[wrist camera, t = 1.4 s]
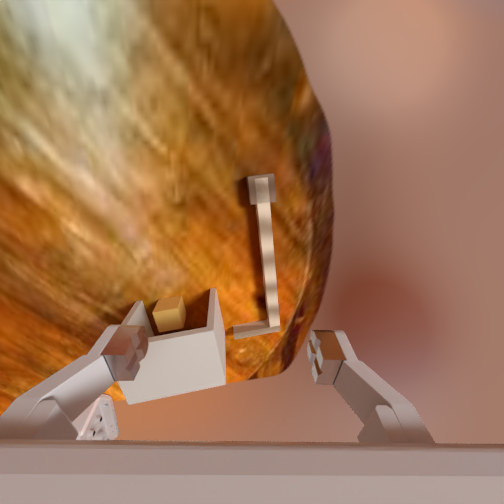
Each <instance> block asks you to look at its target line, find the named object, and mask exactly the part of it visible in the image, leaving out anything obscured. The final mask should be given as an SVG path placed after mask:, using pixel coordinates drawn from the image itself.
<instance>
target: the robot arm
mask: <svg viewBox="0 0 504 504" xmlns="http://www.w3.org/2000/svg"><path fill="white" fill-rule="evenodd" d="M145 332H146V330H145V327H144V326H135V325H112V324H111V325H109V326H108V327H107V328H106V329H105V331H104V332H103V333H102V335H101V336H100V337H99V339H98V340H97V342H96V343H95V344H94V346H93V347H92V348H91V350H90V351H89V353H88V354H87V355H83V356H81V357H79V358H78V359H76V360H75V361H73V362H72V363H70V364H69V365H67V366H66V367H64V368H62V369H61V370H59V371H58V372H56V373H55V374H53V375H52V376H50V377H49V378H47V379H45V380H44V381H42V382H41V383H39V384H38V385H36V386H35V387H33V388H31V389H30V390H28V391H27V392H25V393H24V394H22V395H21V396H19V397H18V398H16V399H15V400H14V401H13V403H12V404H11V405H10V406H9V407H8V408H7V409H6V411H5V412H4V413H3V414H2V415H1V416H0V504H504V444H457V443H454V444H453V443H435V441H434V440H433V438H432V436H431V435H430V433H429V431H428V430H427V428H426V427H425V425H424V423H423V421H422V420H421V418H420V416H419V414H418V413H417V411H416V409H415V408H414V406H413V405H412V404H411V403H410V402H409V401H407V400H406V399H405V398H404V397H403V396H402V395H401V394H399V393H398V392H397V391H396V390H395V389H393V388H392V387H391V386H390V385H389V384H388V383H386V382H385V381H384V380H383V379H382V378H381V377H379V376H378V375H377V374H376V373H375V372H374V371H372V370H371V369H370V368H369V367H368V366H366V365H365V364H364V363H363V362H362V361H358V359H357V358H356V355H355V353H354V351H353V349H352V347H351V345H350V343H349V341H348V339H347V336H346V334H345V333H344V332H343V331H332V330H312V331H311V334H310V337H311V340H310V341H309V342H308V346H307V353H308V358H309V362H310V363H311V364H312V365H313V367H312V373H313V377H314V381H315V384H322V385H333V386H334V388H335V389H336V390H337V391H338V393H339V394H340V395H341V396H342V398H343V399H344V400H345V401H346V402H347V404H348V405H349V406H350V407H351V408H352V410H353V411H354V412H355V414H357V416H358V417H359V418H360V420H361V421H362V422H363V423H364V427H363V428H362V430H361V432H360V433H359V435H358V440H359V443H356V442H354V443H353V442H351V443H350V442H253V441H146V440H141V441H140V440H113V439H115V438H116V437H117V436H118V434H119V430H118V425H117V420H116V415H115V410H114V405H113V400H112V397H111V396H109V395H106V394H103V393H104V392H105V391H106V390H107V389H108V388H109V387H110V386H111V385H112V384H113V383H114V381H134V379H135V377H136V375H137V373H138V371H139V369H140V363H139V362H140V361H141V360H142V359H144V358H145V356H146V353H147V350H148V346H149V341H148V337H146V336H145V335H144V334H145Z"/></svg>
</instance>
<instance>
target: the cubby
mask: <svg viewBox="0 0 504 504" xmlns="http://www.w3.org/2000/svg"><path fill="white" fill-rule="evenodd" d="M121 325H135V326H144V327H145V330H146V332H145V334H144V335H145V336H146V337H148V341H149V346H148V350H147V353H146V356H145V358H144V359H142V360H141V361H140V362H139V363H140V369H139V371H138V373H137V375H136V377H135V379H134V381H118V383H119V386H120V388H121V390H122V392H123V394H124V396H125V398H126V400H127V402H128V404H129V405H130V404H135V403H140V402H144V401H149V400H154V399H159V398H163V397H168V396H173V395H178V394H183V393H187V392H193V391H197V390H202V389H207V388H212V387H217V386H221V385H226V361H225V330H224V325H223V320H222V315H221V311H220V306H219V301H218V296H217V291H216V288H210V298H209V308H208V318H207V327H203V328H198V329H192V330H187V331H181V332H176V333H171V334H165V335H160V336H154V333H153V330H152V327H151V325H150V322H149V319H148V316H147V313H146V311H145V308H144V305H143V302H142V300H141V301H136V302H135V304H134V305H133V307H132V308H131V310H130V311H129V313H128V314H127V316H126V317H125V319H124V320H123V322H122V323H121Z"/></svg>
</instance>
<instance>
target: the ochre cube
mask: <svg viewBox="0 0 504 504" xmlns="http://www.w3.org/2000/svg"><path fill="white" fill-rule="evenodd" d="M152 313H153V316H154V319H155V322H156V325H157V328H158V331H159V332H165V331H170V330H175V329H181V328H183V327H184V323H185V319H186V315H187V313H186V309H185V306H184V302H183V298H182V295H181V296H175V297H169V298H163V299H159V300H158V302H157V304H156V306H155V308H154V310H153V312H152Z"/></svg>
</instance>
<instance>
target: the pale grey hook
mask: <svg viewBox="0 0 504 504" xmlns="http://www.w3.org/2000/svg"><path fill="white" fill-rule="evenodd" d="M246 180H247V189H248V198H249V203H250V204H251V205H254V204H255V207H256V216H257V225H258V235H259V244H260V253H261V263H262V272H263V281H264V291H265V300H266V309H267V320H261V321H255V322H250V323H244V324H239V325H233V332H234V339H240V338H245V337H250V336H256V335H261V334H267V333H272V332H277V331H280V319H279V307H278V295H277V283H276V271H275V259H274V247H273V235H272V223H271V211H270V202H276V194H275V180H274V174H262V175H254V176H246Z"/></svg>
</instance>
